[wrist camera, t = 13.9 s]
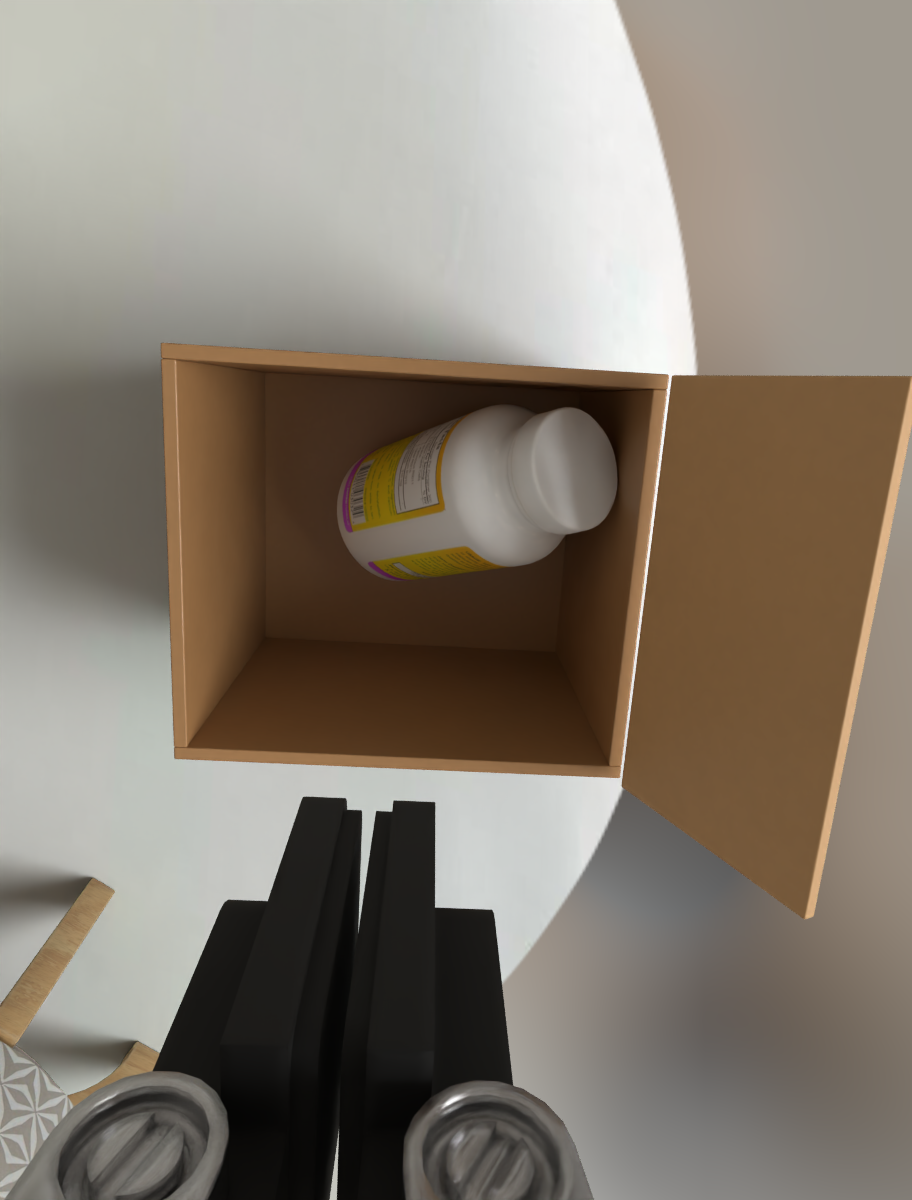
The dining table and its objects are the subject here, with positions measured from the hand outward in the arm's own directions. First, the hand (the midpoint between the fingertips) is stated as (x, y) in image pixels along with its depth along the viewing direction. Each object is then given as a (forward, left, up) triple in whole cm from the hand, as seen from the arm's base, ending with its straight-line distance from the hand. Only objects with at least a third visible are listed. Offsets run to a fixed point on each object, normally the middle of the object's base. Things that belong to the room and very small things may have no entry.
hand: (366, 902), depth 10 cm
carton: (0, 0, -33) cm, 33 cm away
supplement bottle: (+2, 0, -31) cm, 31 cm away
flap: (-10, 0, -14) cm, 17 cm away
